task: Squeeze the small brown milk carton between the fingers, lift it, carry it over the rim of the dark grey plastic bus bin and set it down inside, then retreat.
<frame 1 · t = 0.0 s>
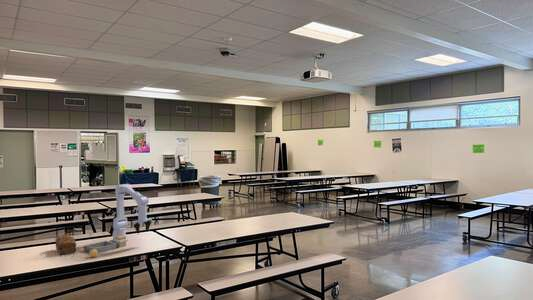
hand: (142, 232, 252), 10 cm above the table, fingers open, 7 cm apart
egg: (93, 256, 227), on the table
bread: (65, 251, 240), on the table
bin: (100, 249, 244), on the table
carton: (120, 246, 252), on the table
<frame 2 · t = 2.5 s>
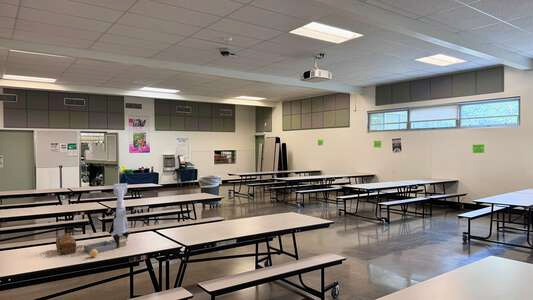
hand: (120, 244, 252), 2 cm above the table, fingers closed on carton, 5 cm apart
carton: (120, 246, 252), on the table, touching gripper
everything else where it was.
when the fingers open (4 cm above the table, at t = 6.2 s): carton drops 2 cm, resting on bin.
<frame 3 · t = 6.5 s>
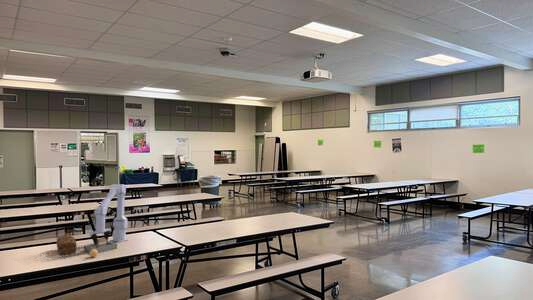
hand: (100, 243, 244), 4 cm above the table, fingers open, 7 cm apart
carton: (101, 248, 244), resting on bin
everything else where it was.
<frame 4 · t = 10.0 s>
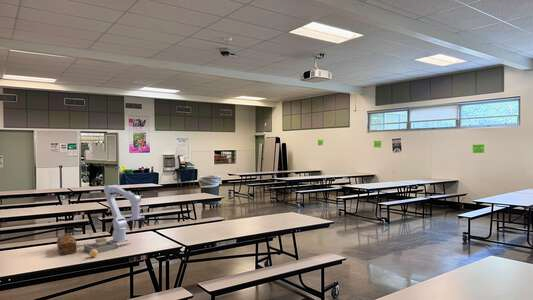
hand: (135, 229, 262), 10 cm above the table, fingers open, 7 cm apart
nothing on the table moved.
at the end: carton inside the target area on the bin (0.2 cm from its centre), point 0.4 cm above the bin's base; carton tilted 0°; the gripper is holding nothing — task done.
